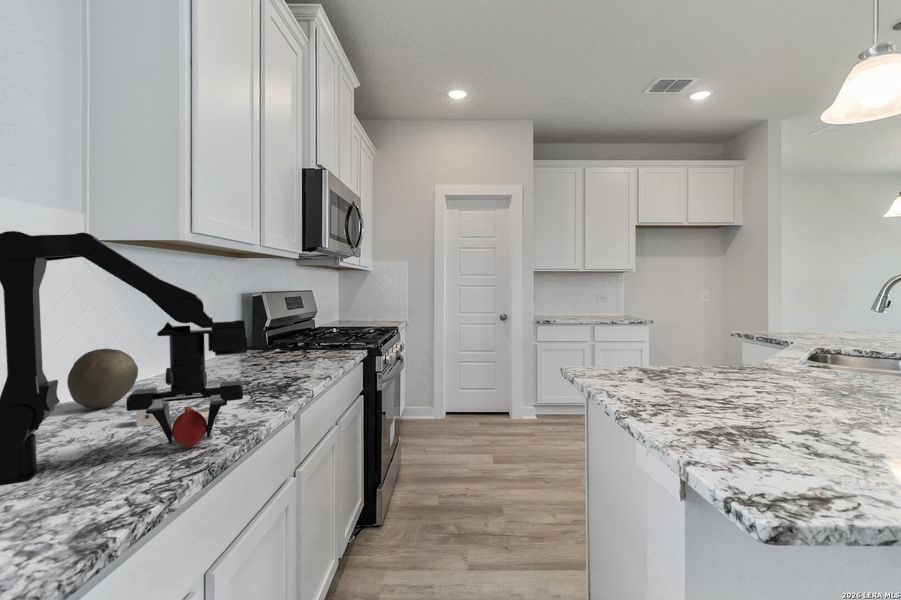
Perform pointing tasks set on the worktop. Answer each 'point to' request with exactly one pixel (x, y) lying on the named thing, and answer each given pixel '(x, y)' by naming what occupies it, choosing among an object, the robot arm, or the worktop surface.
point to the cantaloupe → (101, 377)
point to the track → (205, 415)
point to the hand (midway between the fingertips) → (189, 439)
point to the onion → (189, 428)
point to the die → (145, 418)
